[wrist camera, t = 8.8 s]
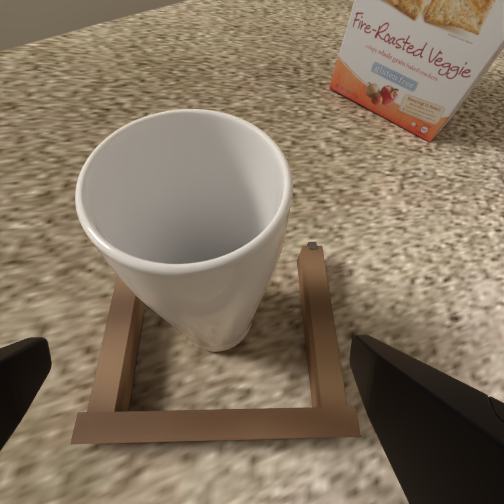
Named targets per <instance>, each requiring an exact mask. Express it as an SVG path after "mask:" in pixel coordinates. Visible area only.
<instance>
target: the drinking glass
mask: <svg viewBox="0 0 504 504" xmlns="http://www.w3.org/2000/svg"><path fill="white" fill-rule="evenodd" d="M292 193H293V182H292V175H291V170H290V167H289V164H288V162H287V159H286V157H285V155H284V154H283V152H282V150H281V149H280V148H279V146H278V145H277V144H276V143H275V142H274V141H273V139H272V138H271V137H269V136H268V135H267V134H266V133H265V132H264V131H262V130H261V129H259V128H258V127H256V126H255V125H253V124H251V123H249V122H247V121H245V120H243V119H241V118H238V117H236V116H233V115H230V114H226V113H222V112H217V111H212V110H203V109H180V110H171V111H165V112H160V113H156V114H152V115H149V116H146V117H143V118H140V119H138V120H135V121H133V122H131V123H129V124H127V125H125V126H123V127H121V128H120V129H118V130H116V131H115V132H114V133H112V134H111V135H109V136H108V137H107V138H106V139H105V140H103V141H102V142H101V143H100V144H99V145H98V146H97V147H96V148H95V150H94V151H93V152H92V153H91V154H90V156H89V157H88V159H87V160H86V162H85V164H84V166H83V167H82V170H81V172H80V174H79V177H78V181H77V185H76V192H75V203H76V210H77V214H78V218H79V221H80V223H81V225H82V227H83V229H84V231H85V233H86V234H87V236H88V237H89V239H90V240H91V241H92V242H93V244H94V245H95V247H96V248H97V249H98V251H99V252H100V254H101V255H102V256H103V258H104V259H105V260H106V262H107V263H108V264H109V266H110V267H111V268H112V270H113V271H114V272H115V273H116V274H117V276H118V277H119V278H120V279H121V281H122V282H123V283H124V284H125V285H126V286H127V287H128V288H129V290H130V291H131V292H132V293H133V294H134V295H135V296H137V297H138V298H139V299H140V300H141V301H142V302H143V303H144V304H145V305H146V306H147V307H149V308H150V309H151V310H152V311H154V312H155V313H156V314H158V315H159V316H160V317H162V318H163V319H164V320H166V321H167V322H168V323H170V324H171V325H172V326H173V327H175V328H176V329H177V330H179V331H180V332H181V333H182V334H184V335H185V336H186V338H187V339H188V340H189V341H190V342H191V343H192V344H193V345H195V346H196V347H198V348H200V349H203V350H206V351H211V352H219V351H224V350H228V349H230V348H232V347H234V346H236V345H237V344H239V343H240V342H241V341H242V340H243V339H244V338H245V337H246V335H247V334H248V332H249V330H250V328H251V325H252V321H253V317H254V315H255V313H256V311H257V309H258V306H259V304H260V302H261V300H262V298H263V296H264V294H265V292H266V290H267V288H268V286H269V283H270V281H271V279H272V277H273V274H274V272H275V269H276V266H277V263H278V260H279V257H280V254H281V250H282V247H283V243H284V238H285V233H286V228H287V223H288V217H289V211H290V205H291V200H292Z"/></svg>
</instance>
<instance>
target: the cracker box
mask: <svg viewBox="0 0 504 504" xmlns="http://www.w3.org/2000/svg"><path fill="white" fill-rule="evenodd" d="M503 48H504V0H355V1H354V4H353V8H352V11H351V14H350V18H349V21H348V25H347V28H346V31H345V35H344V38H343V42H342V45H341V49H340V52H339V56H338V60H337V63H336V66H335V70H334V74H333V77H332V80H331V84H330V89H332V90H334V91H336V92H337V93H339V94H341V95H343V96H345V97H347V98H349V99H350V100H352V101H354V102H356V103H358V104H360V105H362V106H363V107H365V108H367V109H369V110H371V111H373V112H375V113H376V114H378V115H380V116H382V117H384V118H386V119H388V120H389V121H391V122H393V123H395V124H397V125H399V126H401V127H402V128H404V129H406V130H408V131H410V132H412V133H413V134H415V135H417V136H419V137H421V138H423V139H424V140H426V141H428V142H431V141H432V140H433V139H434V138H435V136H436V135H437V134H438V133H439V132H440V131H441V130H442V129H443V127H444V126H445V125H446V124H447V123H448V122H449V120H450V119H451V118H452V117H453V115H454V114H455V113H456V112H457V110H458V109H459V108H460V106H461V105H462V104H463V102H464V101H465V100H466V98H467V97H468V96H469V94H470V93H471V91H472V90H473V89H474V87H475V86H476V85H477V83H478V82H479V81H480V79H481V78H482V77H483V75H484V74H485V73H486V71H487V70H488V68H489V67H490V66H491V64H492V63H493V62H494V60H495V59H496V58H497V56H498V55H499V54H500V52H501V51H502V50H503Z"/></svg>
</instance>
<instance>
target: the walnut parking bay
mask: <svg viewBox="0 0 504 504" xmlns="http://www.w3.org/2000/svg"><path fill="white" fill-rule="evenodd" d="M297 265H298V274H299V284H300V293H301V303H302V312H303V322H304V331H305V341H306V350H307V360H308V369H309V379H310V388H311V397H312V407H313V408H267V409H221V410H175V411H128V410H129V404H130V398H131V392H132V386H133V380H134V373H135V367H136V361H137V355H138V349H139V342H140V336H141V330H142V324H143V318H144V312H145V304H144V303H143V302H142V301H141V300H140V299H139V298H138V297H137V296H135V295H134V294H133V293H132V292H131V291H130V290H129V288H128V287H127V286H126V285H125V284H124V283H123V282H122V281H121V279H120V278H119V277H118V276H117V279H116V284H115V288H114V293H113V297H112V302H111V306H110V311H109V315H108V320H107V324H106V329H105V333H104V338H103V342H102V347H101V351H100V356H99V360H98V365H97V369H96V374H95V378H94V383H93V387H92V392H91V397H90V401H89V406H88V410H87V412H82V413H78V414H77V419H76V423H75V427H74V431H73V436H72V440H71V444H98V443H135V442H172V441H209V440H247V439H284V438H321V437H358V436H360V430H359V424H358V418H357V412H356V407H347V402H346V395H345V389H344V382H343V376H342V370H341V363H340V357H339V351H338V344H337V338H336V331H335V325H334V319H333V312H332V306H331V299H330V293H329V287H328V280H327V274H326V267H325V261H324V255H323V248H322V246H317V244H316V242H308V244H307V246H303V247H302V250H301V252H300V255H299V257H298V260H297Z"/></svg>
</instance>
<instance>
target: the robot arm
mask: <svg viewBox="0 0 504 504" xmlns="http://www.w3.org/2000/svg"><path fill="white" fill-rule="evenodd" d="M51 365H52V362H51V356H50V351H49V345H48V341H47V340H46V339H45V338H43V337H31V338H27V339H24V340H21V341H19V342H16V343H13V344H11V345H8V346H5V347H3V348H0V451H1V449H2V448H3V446H4V445H5V444H6V442H7V441H8V439H9V438H10V436H11V435H12V434H13V432H14V431H15V429H16V428H17V426H18V425H19V423H20V422H21V420H22V418H23V417H24V415H25V414H26V412H27V410H28V408H29V407H30V405H31V403H32V401H33V400H34V398H35V396H36V394H37V393H38V391H39V389H40V387H41V386H42V384H43V382H44V380H45V379H46V377H47V375H48V374H49V372H50V369H51ZM350 367H351V370H352V372H353V375H354V378H355V381H356V384H357V387H358V390H359V393H360V395H361V398H362V401H363V404H364V407H365V409H366V412H367V415H368V417H369V419H370V421H371V424H372V426H373V428H374V430H375V432H376V434H377V436H378V438H379V441H380V443H381V445H382V447H383V449H384V451H385V453H386V455H387V458H388V460H389V462H390V464H391V466H392V468H393V470H394V472H395V475H396V477H397V479H398V481H399V483H400V485H401V487H402V489H403V491H404V494H405V496H406V498H407V500H408V502H409V504H504V403H503V402H501V401H499V400H497V399H495V398H493V397H488V395H487V394H485V393H483V392H481V391H479V390H477V389H475V388H473V387H471V386H469V385H467V384H465V383H463V382H461V381H459V380H457V379H455V378H453V377H451V376H449V375H447V374H445V373H443V372H441V371H439V370H437V369H435V368H433V367H431V366H429V365H427V364H425V363H423V362H421V361H419V360H417V359H415V358H413V357H411V356H409V355H407V354H405V353H403V352H401V351H399V350H397V349H395V348H393V347H391V346H389V345H387V344H385V343H383V342H381V341H379V340H377V339H375V338H373V337H371V336H369V335H354V336H353V338H352V343H351V351H350Z"/></svg>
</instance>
